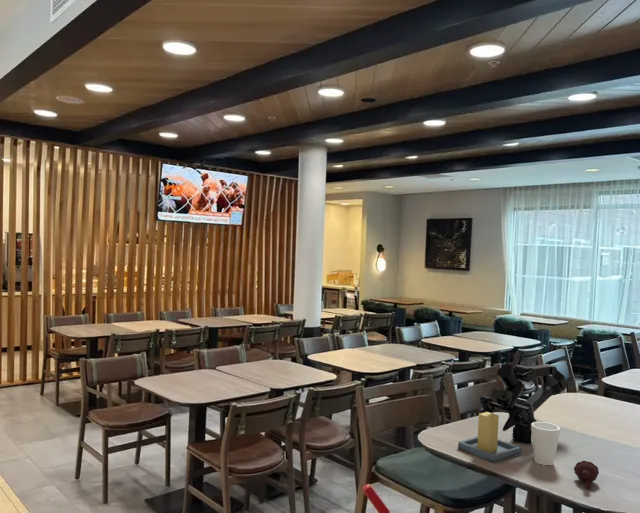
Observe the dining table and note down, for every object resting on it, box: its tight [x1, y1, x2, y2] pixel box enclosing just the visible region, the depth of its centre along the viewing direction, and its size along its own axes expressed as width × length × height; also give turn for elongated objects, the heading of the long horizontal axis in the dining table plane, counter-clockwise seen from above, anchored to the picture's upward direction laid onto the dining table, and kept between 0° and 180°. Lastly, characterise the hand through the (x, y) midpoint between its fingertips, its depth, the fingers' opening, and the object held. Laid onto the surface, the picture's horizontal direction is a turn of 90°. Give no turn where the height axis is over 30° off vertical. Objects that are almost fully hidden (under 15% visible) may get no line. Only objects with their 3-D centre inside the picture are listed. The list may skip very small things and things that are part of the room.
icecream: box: [573, 460, 600, 490], centre depth 176 cm, size 7×7×15 cm
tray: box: [457, 435, 522, 464], centre depth 199 cm, size 16×16×2 cm
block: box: [477, 412, 499, 453], centre depth 198 cm, size 5×5×13 cm
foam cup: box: [531, 421, 561, 466], centre depth 191 cm, size 10×9×13 cm
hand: (492, 426), depth 200 cm, fingers open, 9 cm apart
